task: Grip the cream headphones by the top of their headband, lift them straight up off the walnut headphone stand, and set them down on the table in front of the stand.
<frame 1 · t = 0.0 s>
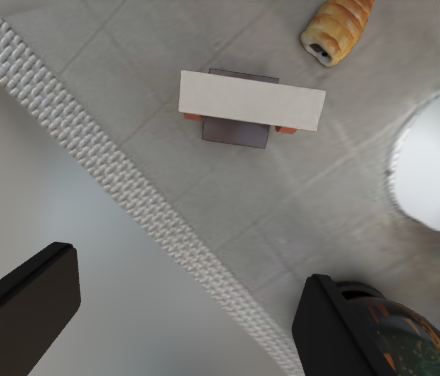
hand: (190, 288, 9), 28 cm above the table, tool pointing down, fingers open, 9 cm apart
headphone stand: (238, 111, 32), on the table
headphones: (240, 109, 29), point 4 cm above the table, touching headphone stand
amphora vase: (342, 310, 44), on the table
pastry: (329, 31, 29), on the table
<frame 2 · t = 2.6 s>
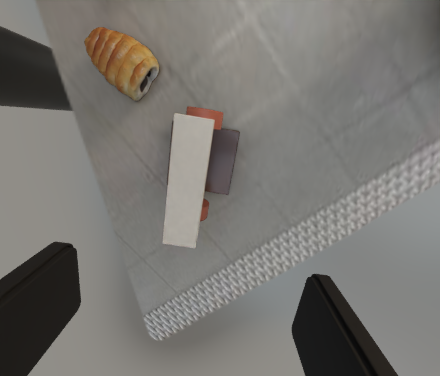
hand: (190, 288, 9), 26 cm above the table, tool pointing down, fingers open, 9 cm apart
headphone stand: (202, 158, 33), on the table
headphones: (199, 163, 29), point 4 cm above the table, touching headphone stand
pastry: (129, 68, 30), on the table
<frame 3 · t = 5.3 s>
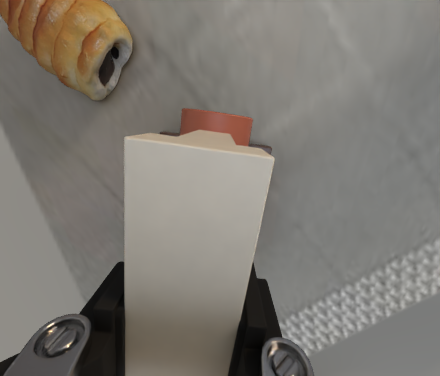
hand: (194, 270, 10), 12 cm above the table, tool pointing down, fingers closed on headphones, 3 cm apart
headphones: (207, 204, 17), point 4 cm above the table, touching gripper, headphone stand
pastry: (84, 46, 18), on the table
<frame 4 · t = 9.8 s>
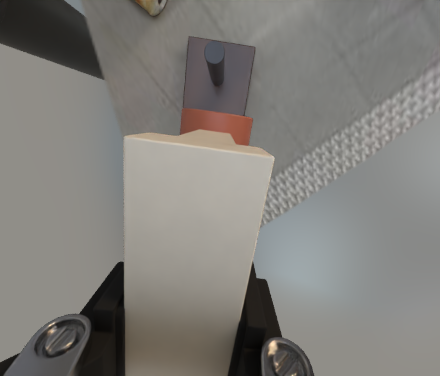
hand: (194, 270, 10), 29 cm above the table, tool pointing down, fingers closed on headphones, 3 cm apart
headphone stand: (217, 80, 34), on the table
headphones: (207, 204, 17), point 21 cm above the table, touching gripper
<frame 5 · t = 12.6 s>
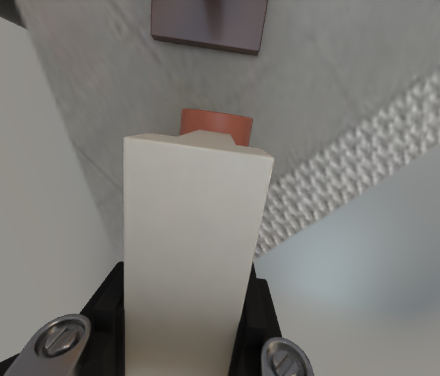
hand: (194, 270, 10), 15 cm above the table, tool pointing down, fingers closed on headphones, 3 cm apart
headphones: (207, 204, 17), point 7 cm above the table, touching gripper
when the fingers open (8 cm above the table, at t = 14.6 s): headphones stays where it is, on the table.
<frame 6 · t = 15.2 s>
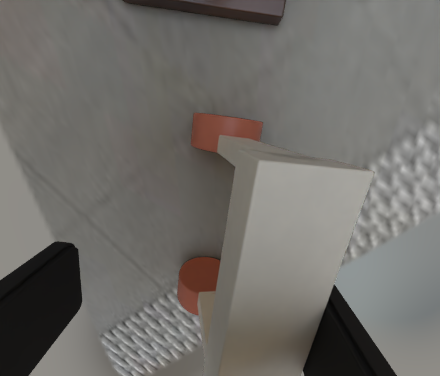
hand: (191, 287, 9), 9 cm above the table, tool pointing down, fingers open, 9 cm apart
headphones: (209, 205, 17), on the table, tilted 13°
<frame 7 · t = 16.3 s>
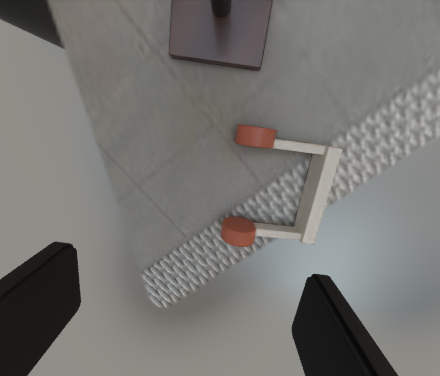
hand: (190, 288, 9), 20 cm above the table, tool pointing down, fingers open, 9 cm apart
headphone stand: (221, 11, 22), on the table
headphones: (228, 184, 25), point 2 cm above the table, tilted 94°
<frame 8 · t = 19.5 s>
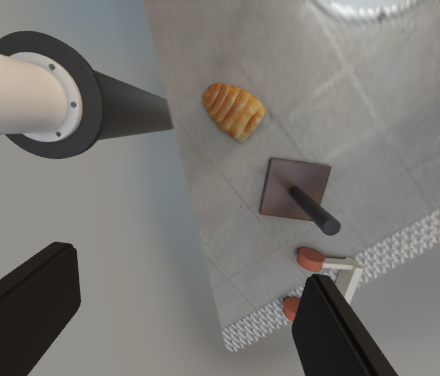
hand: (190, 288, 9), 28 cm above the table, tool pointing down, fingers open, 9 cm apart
headphone stand: (292, 189, 37), on the table
headphones: (291, 284, 40), point 2 cm above the table, tilted 94°
pastry: (234, 113, 33), on the table
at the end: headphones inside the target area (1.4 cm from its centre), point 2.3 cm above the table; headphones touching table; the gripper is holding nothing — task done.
